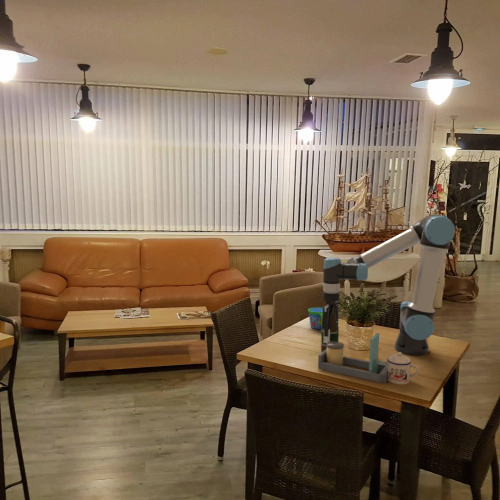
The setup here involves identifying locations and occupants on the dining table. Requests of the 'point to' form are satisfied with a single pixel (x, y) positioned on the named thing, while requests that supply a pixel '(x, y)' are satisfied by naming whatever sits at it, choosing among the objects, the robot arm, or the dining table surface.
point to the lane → (351, 371)
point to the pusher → (374, 354)
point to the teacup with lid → (399, 369)
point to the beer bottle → (331, 331)
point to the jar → (334, 353)
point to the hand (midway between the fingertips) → (329, 340)
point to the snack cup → (316, 317)
